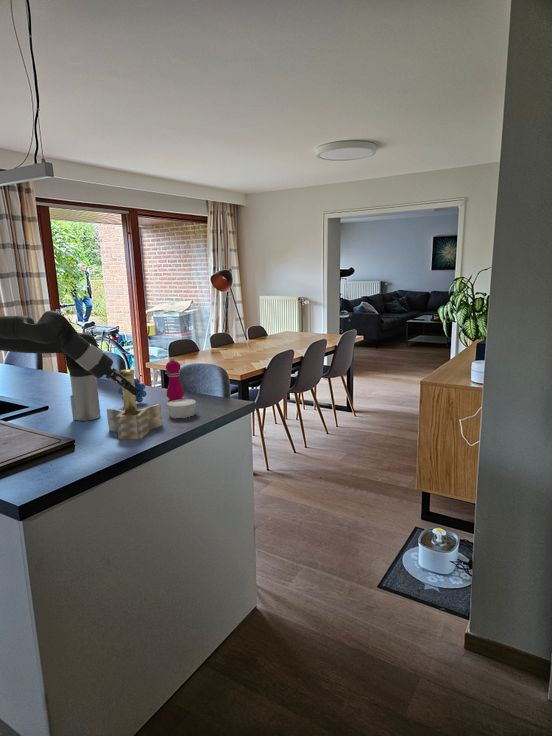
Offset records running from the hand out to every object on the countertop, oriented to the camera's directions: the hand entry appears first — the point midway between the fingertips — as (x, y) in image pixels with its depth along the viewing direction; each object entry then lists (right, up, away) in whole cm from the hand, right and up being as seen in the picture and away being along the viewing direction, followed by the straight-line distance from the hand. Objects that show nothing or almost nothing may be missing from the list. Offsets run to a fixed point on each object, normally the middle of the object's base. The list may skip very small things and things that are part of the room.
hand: (134, 391), depth 160 cm
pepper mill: (+5, -7, +41) cm, 42 cm away
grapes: (-13, -8, +42) cm, 45 cm away
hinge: (-3, -14, +6) cm, 16 cm away
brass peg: (-1, -7, 0) cm, 7 cm away
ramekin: (+11, -11, +24) cm, 29 cm away
